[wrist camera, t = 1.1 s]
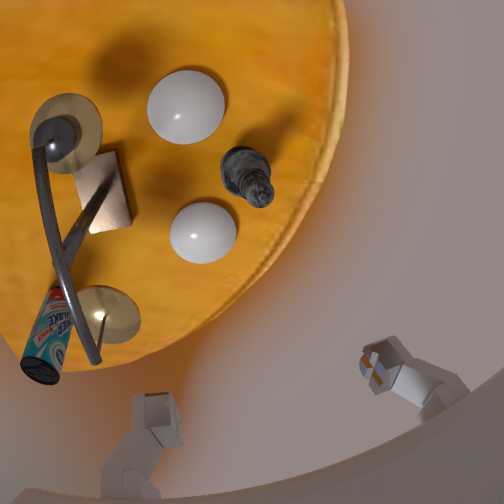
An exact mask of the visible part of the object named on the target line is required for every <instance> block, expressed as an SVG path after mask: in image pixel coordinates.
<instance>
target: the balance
mask: <svg viewBox="0 0 504 504" xmlns="http://www.w3.org/2000/svg"><path fill="white" fill-rule="evenodd" d="M102 137H103V123H102V118H101V115H100V113H99V111H98V109H97V107H96V106H95V105H94V103H93V102H92V101H91V100H89V99H88V98H86V97H85V96H83V95H80V94H76V93H65V94H60V95H56V96H54V97H52V98H50V99H49V100H47V101H46V102H45V103H44V104H43V105H42V106H41V107H40V108H39V109H38V111H37V112H36V114H35V116H34V118H33V121H32V124H31V128H30V145H31V149H32V159H33V168H34V175H35V182H36V188H37V194H38V200H39V205H40V210H41V215H42V220H43V224H44V229H45V233H46V237H47V241H48V245H49V249H50V253H51V257H52V260H53V262H52V264H53V267H54V269H55V271H56V274H57V277H58V280H59V283H60V287H61V290H62V293H63V296H64V298H65V301H66V304H67V307H68V310H69V312H70V317H71V320H72V322H73V324H74V325H75V328H76V330H77V333H78V335H79V338H80V340H81V343H82V345H83V347H84V349H85V352H86V354H87V356H88V358H89V361H90V363H91V365H94V366H95V365H99V364H100V363H101V362H102V358H101V356H100V350H101V344H102V343H107V344H117V343H122V342H126V341H128V340H130V339H132V338H133V337H134V336H135V335H136V334H137V332H138V331H139V329H140V324H141V314H140V311H139V308H138V306H137V305H136V303H135V302H134V301H133V300H132V299H131V298H130V297H129V296H128V295H127V294H125V293H124V292H122V291H120V290H118V289H116V288H113V287H109V286H104V285H92V286H88V287H85V288H83V289H81V290H79V291H78V292H77V293H76V290H75V287H74V283H73V280H72V277H71V274H70V270H69V268H70V266H71V264H72V262H73V260H74V258H75V256H76V253H77V251H78V249H79V247H80V245H81V243H82V241H83V239H84V237H85V235H86V233H87V231H88V229H89V231H90V234H93V233H97V232H102V231H107V230H112V229H117V228H122V227H127V226H132V223H133V218H132V214H131V210H130V206H129V201H128V197H127V193H126V189H125V184H124V180H123V175H122V170H121V166H120V161H119V156H118V150H117V148H116V149H112V150H108V151H104V152H100V153H97V152H98V150H99V147H100V145H101V141H102ZM48 170H49V171H51V172H53V173H57V174H69V173H73V176H74V179H75V183H76V187H77V191H78V194H79V198H80V201H81V205H82V208H83V211H82V212H81V214H80V215H79V217H78V219H77V220H76V222H75V223H74V225H73V227H72V228H71V230H70V231H69V233H68V235H67V236H66V238H65V240H64V241H63V243H62V240H61V236H60V232H59V228H58V223H57V219H56V214H55V209H54V204H53V198H52V193H51V187H50V180H49V174H48ZM94 340H95V341H98V344H97V346H96V344H95V342H94Z"/></svg>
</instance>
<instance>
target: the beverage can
mask: <svg viewBox="0 0 504 504" xmlns="http://www.w3.org/2000/svg"><path fill="white" fill-rule="evenodd" d="M72 326H73V322H72V320H71V317H70V312H69V310H68V307H67V304H66V301H65V298H64V296H63V293H62V290H61V287H55V288H52V289H51V290H50V291H48V293H47V294H46V297H45V299H44V301H43V304H42V306H41V308H40V311H39V313H38V316H37V318H36V320H35V323H34V325H33V328H32V330H31V333H30V336H29V339H28V341H27V344H26V347H25V350H24V353H23V356H22V359H21V362H20V366H21V369H22V370H23V372H24V373H25V374H26V375H27V376H28V377H29V378H31V379H33V380H34V381H36V382H38V383H41V384H44V385H54V384H57V383H58V382H59V379H60V378H59V377H60V374H61V369H62V365H63V361H64V357H65V353H66V349H67V345H68V341H69V337H70V334H71V330H72Z"/></svg>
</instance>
